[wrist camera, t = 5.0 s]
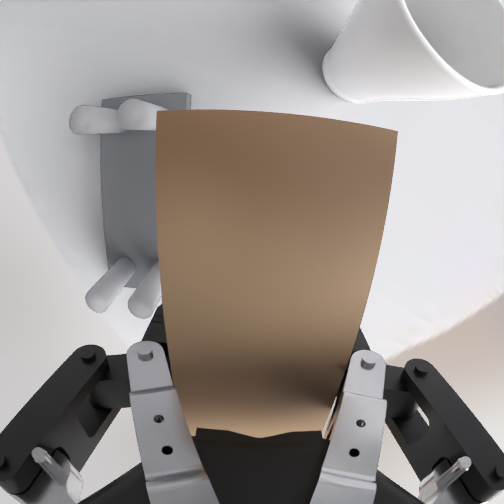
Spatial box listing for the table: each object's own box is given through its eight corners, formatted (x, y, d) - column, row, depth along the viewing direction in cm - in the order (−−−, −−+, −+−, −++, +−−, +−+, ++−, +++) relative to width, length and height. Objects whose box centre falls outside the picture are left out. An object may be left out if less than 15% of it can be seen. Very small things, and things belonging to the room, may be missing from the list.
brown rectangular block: (196, 118, 10) (156, 111, 6) (340, 129, 11) (397, 131, 6) (202, 409, 17) (193, 476, 12) (291, 412, 17) (298, 480, 12)
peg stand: (110, 101, 20) (60, 92, 13) (190, 95, 21) (163, 77, 14) (117, 278, 26) (81, 322, 19) (188, 284, 26) (168, 334, 19)
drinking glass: (293, 66, 20) (352, -27, 6) (350, 23, 18) (444, -66, 4) (352, 129, 21) (478, 130, 7) (404, 83, 20) (538, 57, 6)
